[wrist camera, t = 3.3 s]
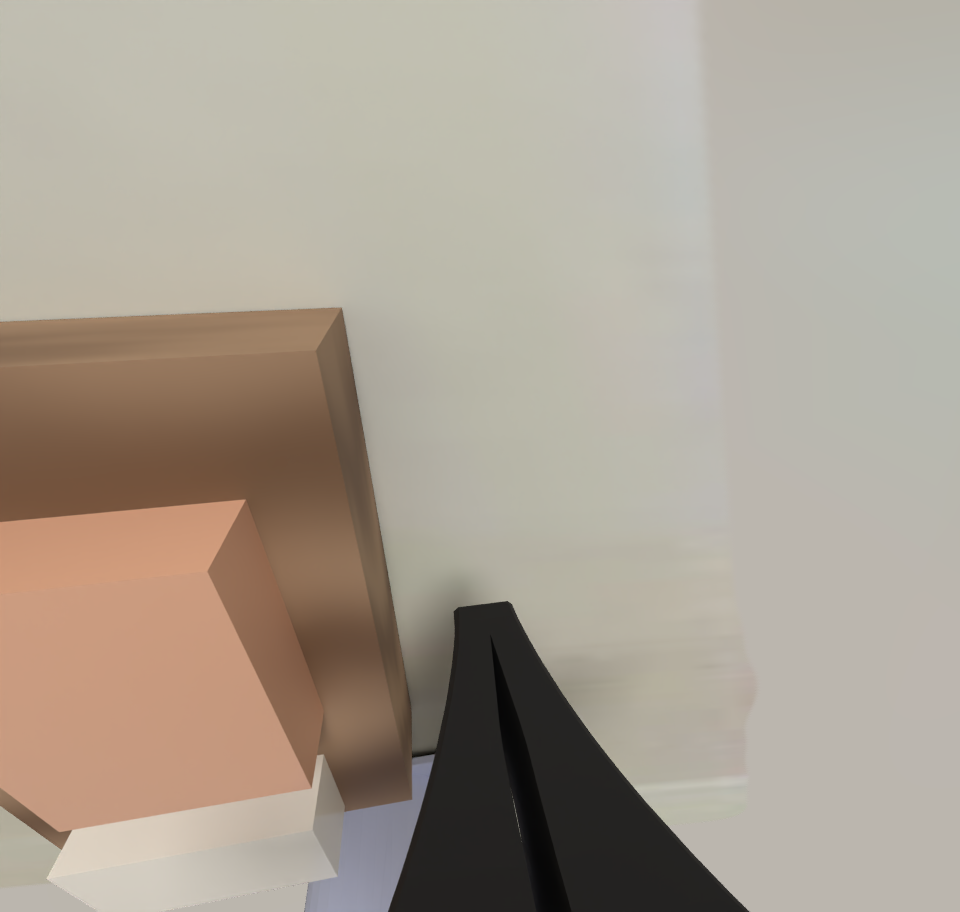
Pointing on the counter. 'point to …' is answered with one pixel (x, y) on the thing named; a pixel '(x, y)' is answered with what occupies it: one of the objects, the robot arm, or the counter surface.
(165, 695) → the terracotta tile
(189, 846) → the cream tile
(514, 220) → the counter surface
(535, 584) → the counter surface
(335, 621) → the brown wooden block
